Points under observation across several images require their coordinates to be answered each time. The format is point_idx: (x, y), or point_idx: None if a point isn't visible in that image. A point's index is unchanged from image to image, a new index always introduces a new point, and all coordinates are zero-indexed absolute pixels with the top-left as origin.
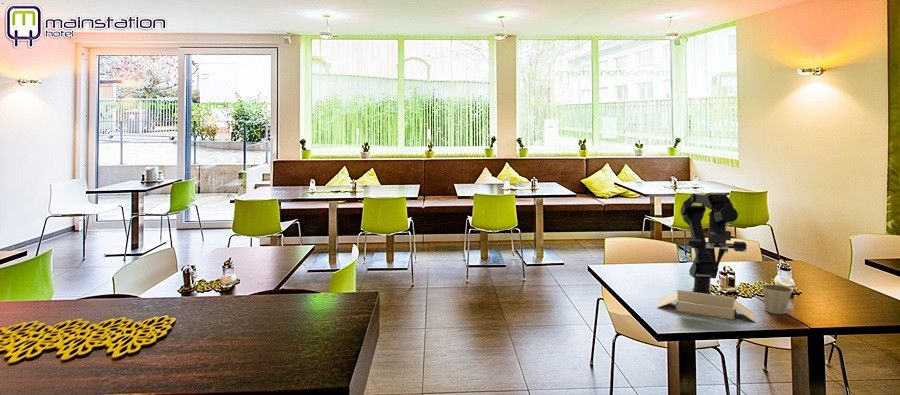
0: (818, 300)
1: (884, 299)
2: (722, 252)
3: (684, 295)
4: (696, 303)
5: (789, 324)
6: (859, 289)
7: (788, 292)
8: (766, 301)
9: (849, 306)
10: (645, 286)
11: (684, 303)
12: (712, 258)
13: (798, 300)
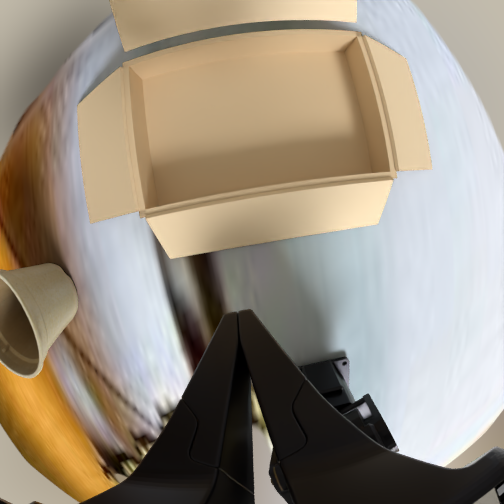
0: (59, 439)
1: (30, 461)
2: (123, 497)
3: None
4: (277, 16)
5: (13, 175)
6: (72, 495)
7: None
8: (48, 282)
9: (19, 417)
10: (474, 314)
11: (328, 31)
12: (306, 384)
13: (76, 429)
